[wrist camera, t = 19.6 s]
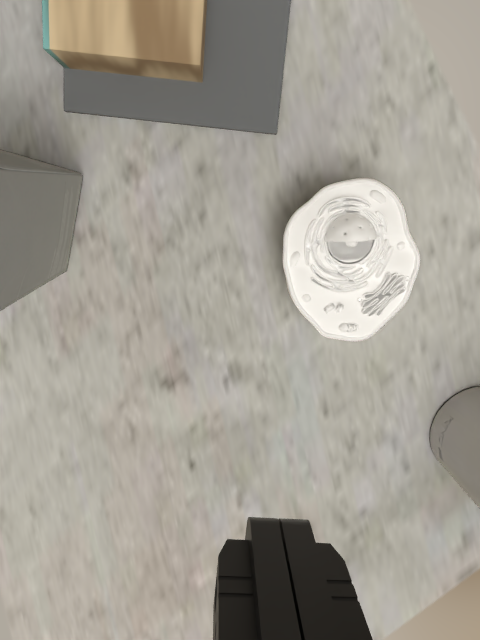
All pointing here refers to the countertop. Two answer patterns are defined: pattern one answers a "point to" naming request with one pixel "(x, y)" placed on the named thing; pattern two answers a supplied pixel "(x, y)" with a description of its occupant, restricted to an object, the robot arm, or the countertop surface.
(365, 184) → the cell model
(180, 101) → the mat
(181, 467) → the countertop surface
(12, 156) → the skincare box
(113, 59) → the block
